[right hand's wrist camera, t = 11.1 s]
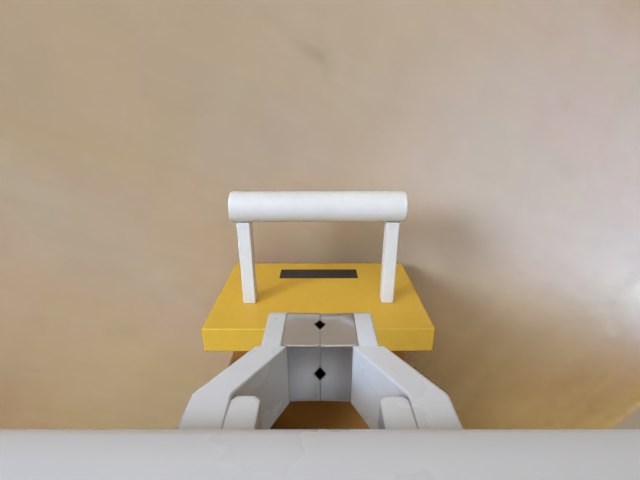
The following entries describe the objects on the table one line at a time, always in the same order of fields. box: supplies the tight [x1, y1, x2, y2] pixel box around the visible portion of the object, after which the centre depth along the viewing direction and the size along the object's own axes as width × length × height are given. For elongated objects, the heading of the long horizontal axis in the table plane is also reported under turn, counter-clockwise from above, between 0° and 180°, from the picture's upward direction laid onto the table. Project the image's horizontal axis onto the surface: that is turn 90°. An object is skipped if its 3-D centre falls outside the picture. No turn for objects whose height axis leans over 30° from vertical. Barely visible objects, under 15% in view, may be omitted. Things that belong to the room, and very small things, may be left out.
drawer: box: [202, 191, 435, 429], centre depth 20 cm, size 21×10×7 cm, turn 0°
